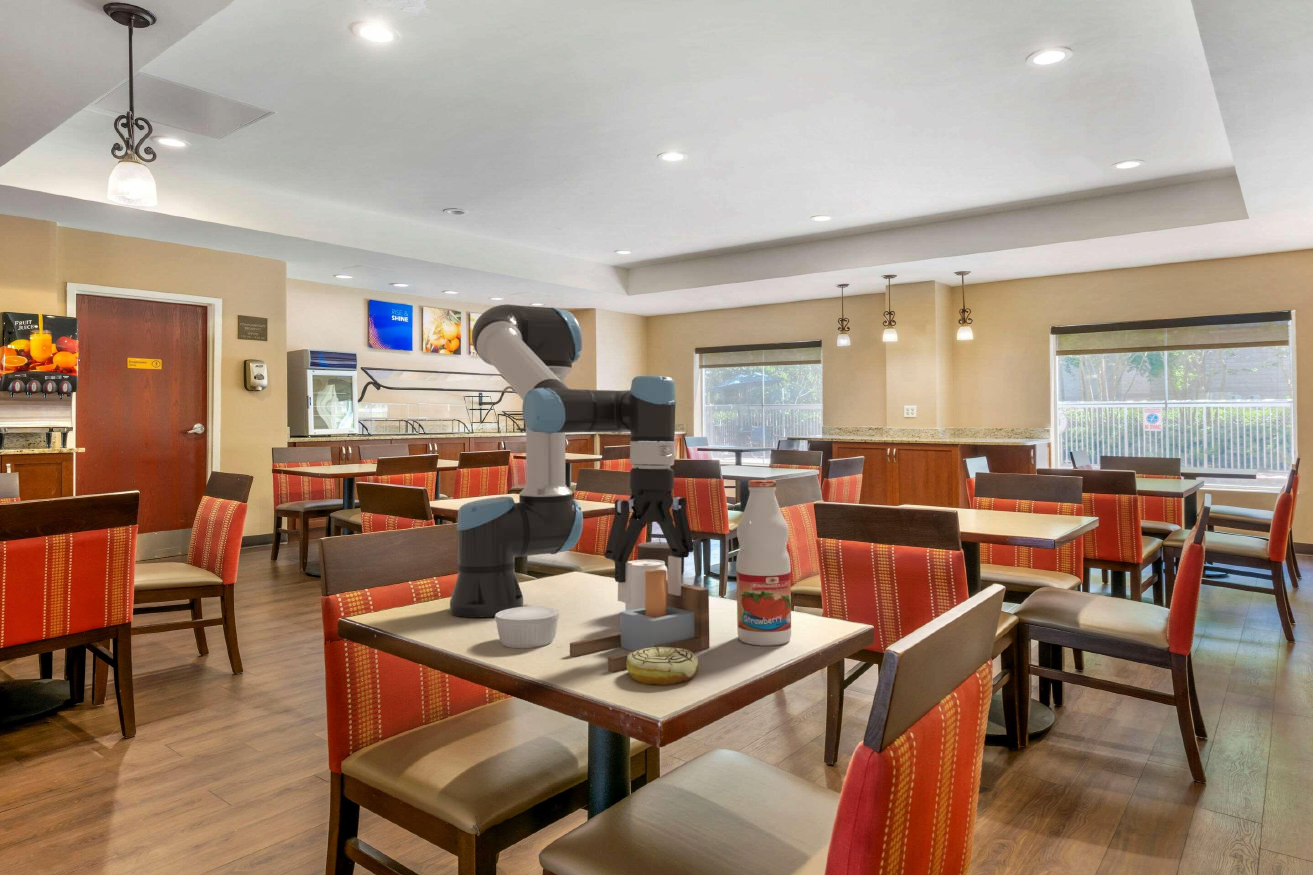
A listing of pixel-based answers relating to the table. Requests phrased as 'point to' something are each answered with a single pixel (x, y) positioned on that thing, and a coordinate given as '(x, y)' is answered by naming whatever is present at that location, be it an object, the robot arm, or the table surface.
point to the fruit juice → (763, 569)
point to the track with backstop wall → (688, 600)
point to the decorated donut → (662, 665)
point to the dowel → (655, 593)
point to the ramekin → (527, 626)
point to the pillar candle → (655, 552)
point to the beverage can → (641, 581)
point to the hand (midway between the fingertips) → (649, 597)
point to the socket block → (655, 628)
